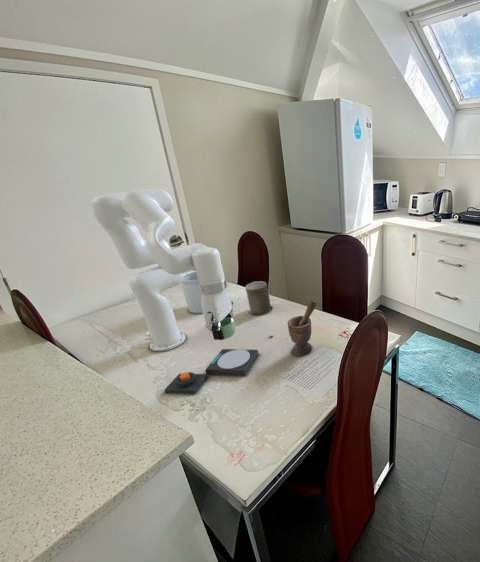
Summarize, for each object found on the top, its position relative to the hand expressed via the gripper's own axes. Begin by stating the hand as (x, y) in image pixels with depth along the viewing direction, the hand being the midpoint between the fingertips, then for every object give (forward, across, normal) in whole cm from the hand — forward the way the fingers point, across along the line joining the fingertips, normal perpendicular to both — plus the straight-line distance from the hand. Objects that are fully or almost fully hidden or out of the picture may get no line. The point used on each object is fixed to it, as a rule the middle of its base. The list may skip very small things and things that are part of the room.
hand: (224, 332), depth 107 cm
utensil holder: (+15, -46, -37) cm, 61 cm away
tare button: (+13, +9, -12) cm, 19 cm away
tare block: (+15, +9, -12) cm, 21 cm away
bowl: (+1, 0, 0) cm, 1 cm away
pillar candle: (+15, -43, -7) cm, 46 cm away
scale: (+15, -2, -1) cm, 15 cm away
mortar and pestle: (+15, -13, +23) cm, 31 cm away
